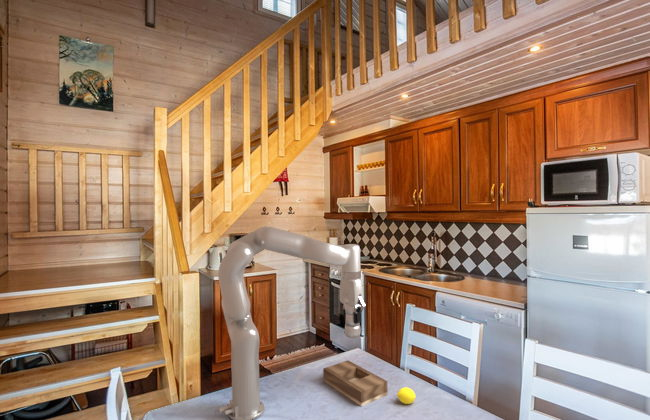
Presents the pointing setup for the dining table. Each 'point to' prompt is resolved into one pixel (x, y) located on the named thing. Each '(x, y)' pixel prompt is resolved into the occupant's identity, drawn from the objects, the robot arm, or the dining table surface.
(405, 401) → the lemon
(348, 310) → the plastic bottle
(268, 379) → the dining table surface
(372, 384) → the brown slotted block
